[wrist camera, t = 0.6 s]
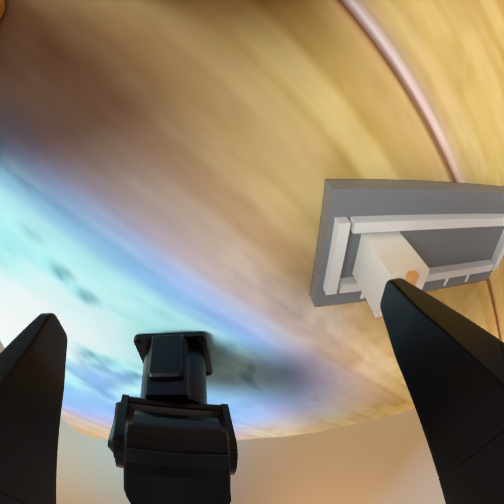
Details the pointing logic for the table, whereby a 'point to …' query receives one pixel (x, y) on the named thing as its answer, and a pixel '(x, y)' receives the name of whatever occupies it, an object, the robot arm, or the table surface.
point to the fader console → (408, 231)
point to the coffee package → (2, 7)
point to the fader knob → (386, 265)
